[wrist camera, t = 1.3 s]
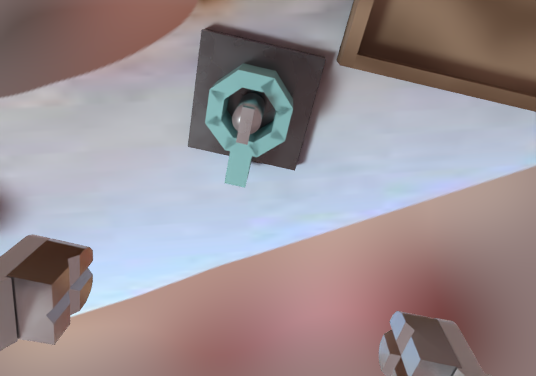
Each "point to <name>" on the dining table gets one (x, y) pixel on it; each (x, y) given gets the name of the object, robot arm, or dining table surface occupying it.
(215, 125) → the teal ring
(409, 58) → the walnut tray
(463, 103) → the dining table surface
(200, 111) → the post stand
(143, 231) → the dining table surface
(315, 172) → the dining table surface
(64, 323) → the robot arm
